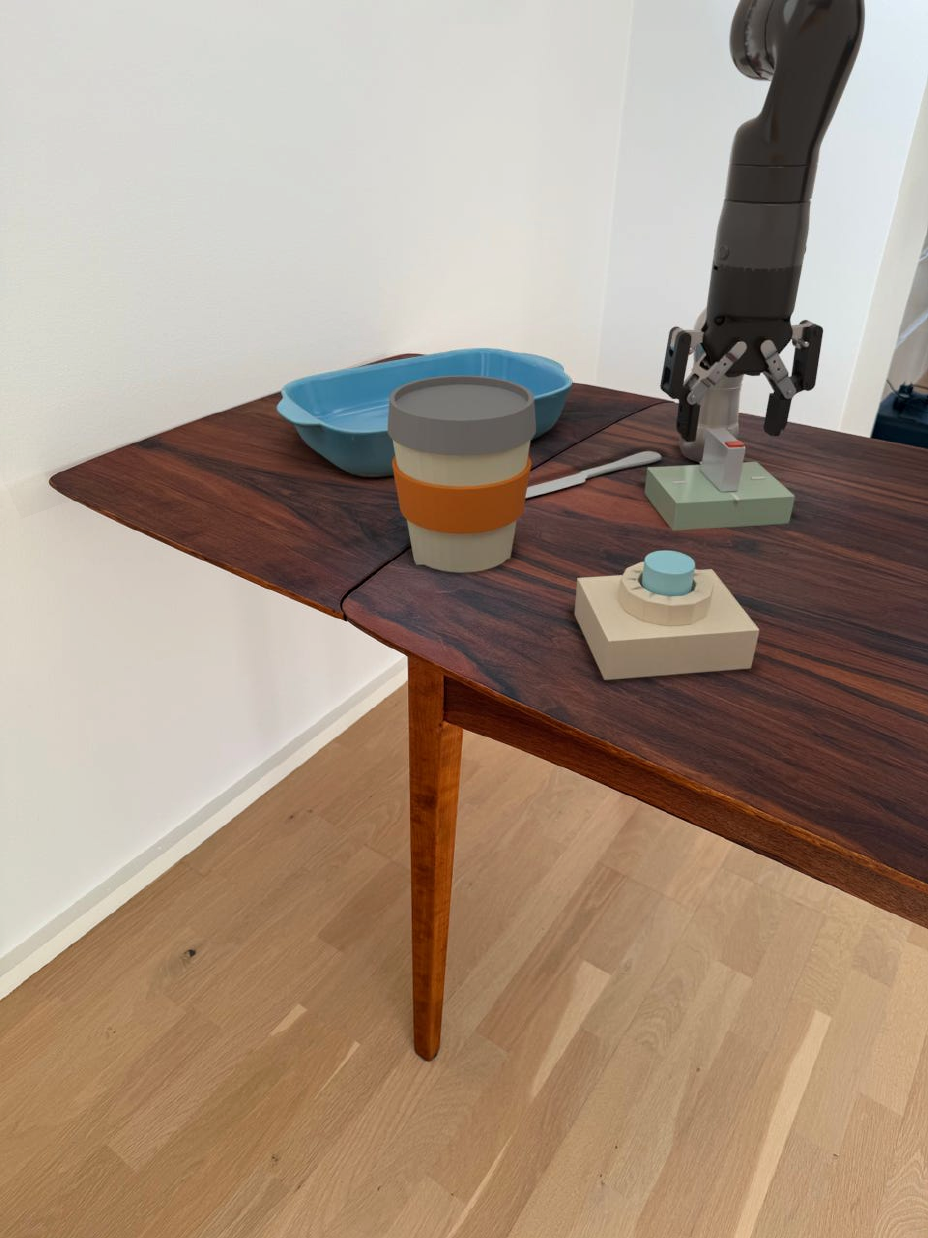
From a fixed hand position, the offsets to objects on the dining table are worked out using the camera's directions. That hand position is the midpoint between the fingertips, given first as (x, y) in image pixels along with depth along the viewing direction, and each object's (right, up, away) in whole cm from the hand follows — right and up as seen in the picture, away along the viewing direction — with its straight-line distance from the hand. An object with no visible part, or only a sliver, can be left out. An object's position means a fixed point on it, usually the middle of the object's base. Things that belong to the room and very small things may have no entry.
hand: (729, 436), depth 82 cm
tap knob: (0, -4, +3) cm, 5 cm away
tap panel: (0, -6, +5) cm, 8 cm away
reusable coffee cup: (-26, -12, -4) cm, 29 cm away
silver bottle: (+2, +1, +16) cm, 16 cm away
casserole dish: (-30, +4, +22) cm, 37 cm away
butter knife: (-13, -2, +11) cm, 17 cm away
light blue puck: (-11, -15, -20) cm, 27 cm away
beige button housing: (-11, -20, -17) cm, 28 cm away
